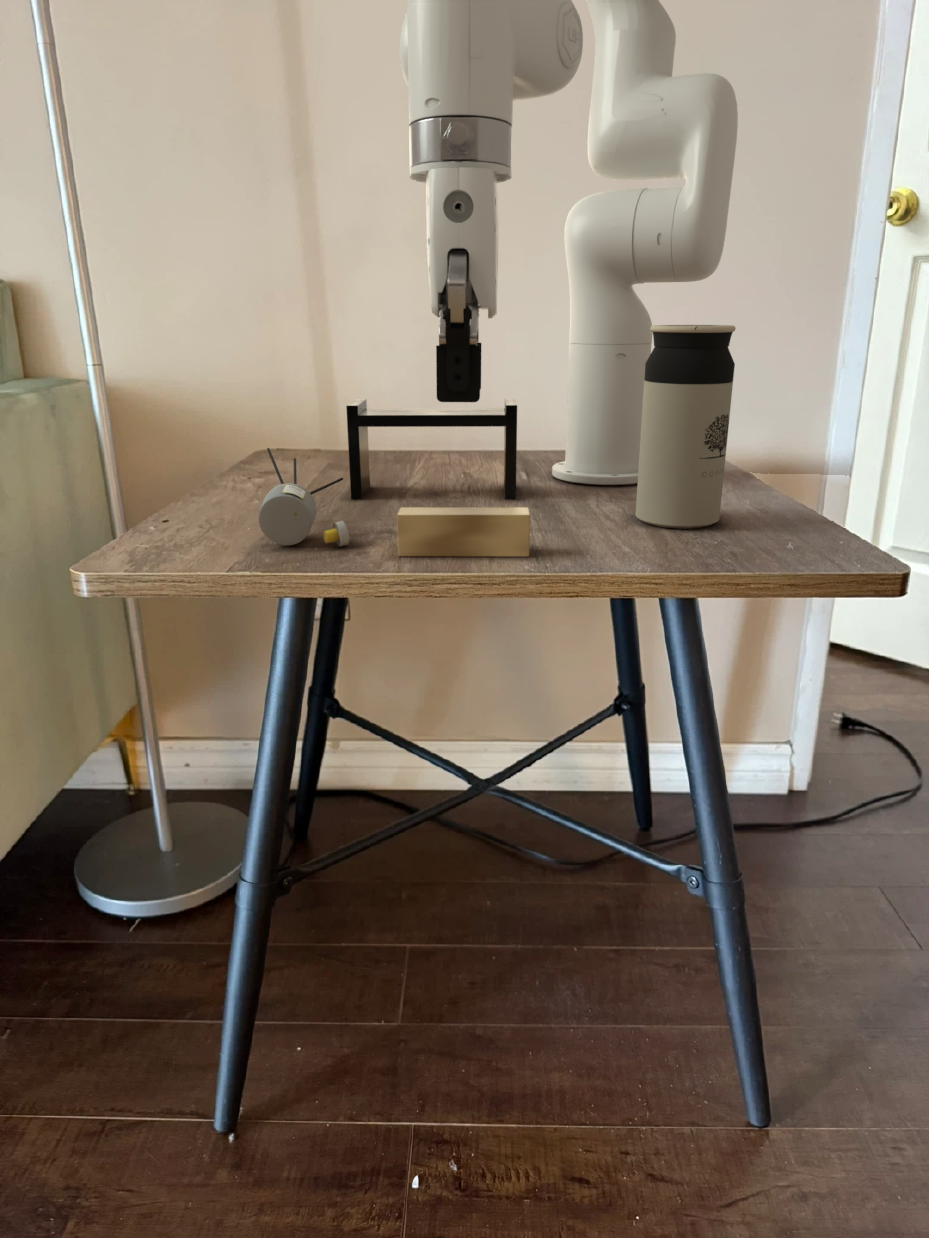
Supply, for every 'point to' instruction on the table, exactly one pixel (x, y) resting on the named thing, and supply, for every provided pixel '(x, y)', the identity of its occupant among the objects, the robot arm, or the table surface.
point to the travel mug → (685, 425)
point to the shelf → (426, 417)
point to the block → (463, 531)
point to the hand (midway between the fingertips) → (460, 396)
